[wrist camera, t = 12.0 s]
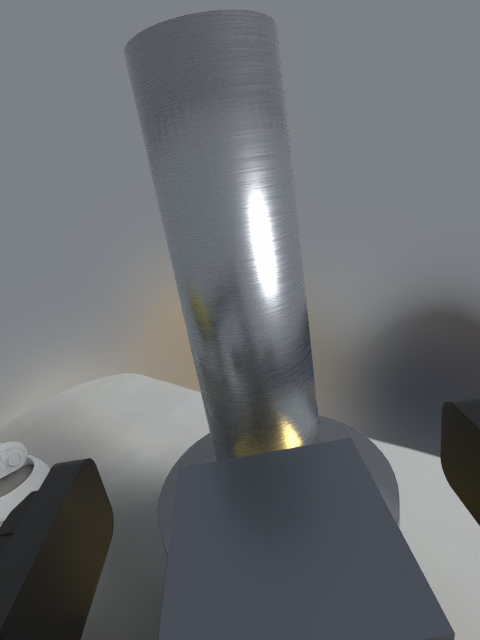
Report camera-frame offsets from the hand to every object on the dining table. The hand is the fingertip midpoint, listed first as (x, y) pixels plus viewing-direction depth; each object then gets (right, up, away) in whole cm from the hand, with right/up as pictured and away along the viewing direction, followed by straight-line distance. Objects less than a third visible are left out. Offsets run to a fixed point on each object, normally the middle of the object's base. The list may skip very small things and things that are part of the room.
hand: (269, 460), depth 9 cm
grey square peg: (+3, -15, +4) cm, 16 cm away
